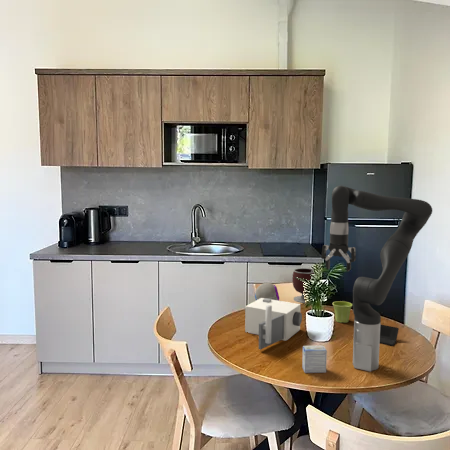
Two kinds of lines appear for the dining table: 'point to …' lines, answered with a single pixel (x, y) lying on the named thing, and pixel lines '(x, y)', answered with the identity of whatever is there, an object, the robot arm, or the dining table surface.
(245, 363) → the dining table surface
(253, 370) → the dining table surface
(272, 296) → the grey rounded dome
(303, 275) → the mate gourd
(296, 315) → the cabinet housing
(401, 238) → the robot arm
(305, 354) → the medicine box
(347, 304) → the plant pot
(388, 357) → the dining table surface
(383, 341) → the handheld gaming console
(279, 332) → the side door
